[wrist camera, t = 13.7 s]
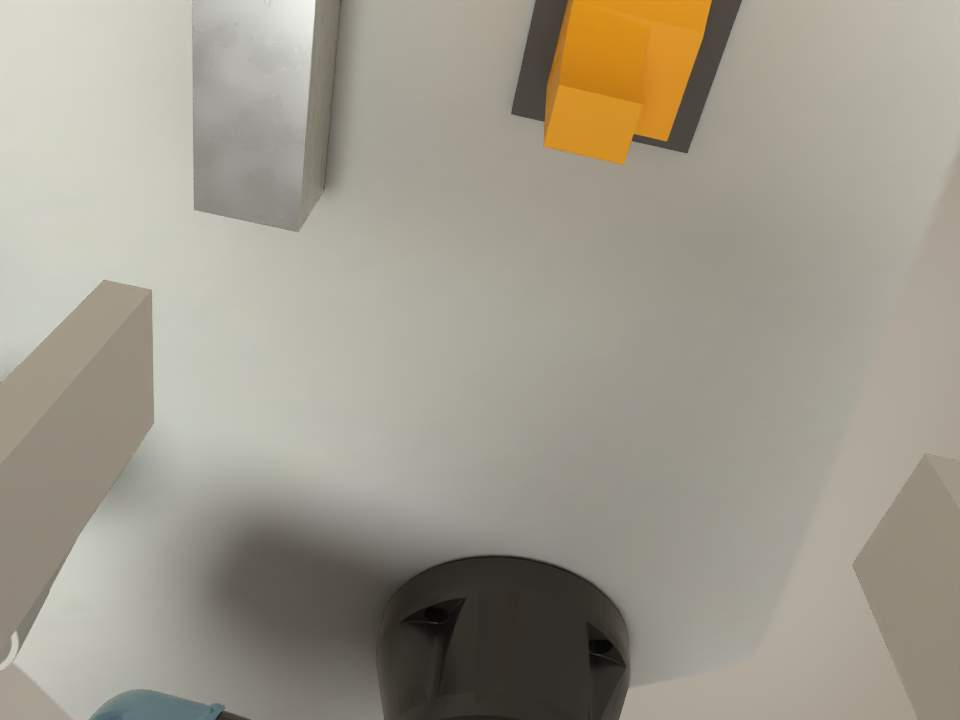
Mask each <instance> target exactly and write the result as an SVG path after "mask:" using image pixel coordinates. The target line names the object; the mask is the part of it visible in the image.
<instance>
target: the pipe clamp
mask: <svg viewBox="0 0 960 720" xmlns="http://www.w3.org/2000/svg"><path fill="white" fill-rule="evenodd" d="M711 2H712V0H568V2H567V6H566V10H565V14H564V18H563V22H562V26H561V30H560V34H559V38H558V42H557V46H556V50H555V54H554V59H553V63H552V67H551V71H550V75H549V79H548V83H547V88H546V107H545V126H544V145H543V146H544V147H548V148H552V149H557V150H561V151H565V152H570V153H574V154H579V155H583V156H587V157H592V158H596V159H601V160H605V161H609V162H614V163H618V164H622V165H624V163H625V159H626V156H627V153H628V150H629V147H630V144H631V141H632V138H633V134H637V135H641V136H645V137H650V138H654V139H658V140H663V141H667V140H668V137H669V134H670V131H671V129H672V126H673V123H674V120H675V117H676V114H677V111H678V108H679V105H680V103H681V100H682V97H683V94H684V91H685V88H686V85H687V82H688V79H689V77H690V74H691V71H692V68H693V65H694V62H695V59H696V56H697V54H698V51H699V48H700V45H701V42H702V39H703V36H704V31H705V26H706V22H707V18H708V14H709V10H710V6H711Z"/></svg>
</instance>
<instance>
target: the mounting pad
mask: <svg viewBox="0 0 960 720" xmlns="http://www.w3.org/2000/svg"><path fill="white" fill-rule="evenodd" d="M741 1H742V0H712V2H711V6H710V10H709V14H708V18H707V22H706V26H705V31H704V36H703V39H702V42H701V45H700V48H699V51H698V54H697V56H696V59H695V62H694V65H693V68H692V71H691V74H690V77H689V79H688V82H687V85H686V88H685V91H684V94H683V97H682V100H681V103H680V105H679V108H678V111H677V114H676V117H675V120H674V123H673V126H672V129H671V131H670V134H669V137H668V140H667V141H663V140H658V139H654V138H650V137H645V136H641V135H637V134H633V138H632V141H634V142H639V143H643V144H648V145H652V146H657V147H661V148H666V149H670V150H675V151H679V152H684V153H688V150H689V147H690V144H691V141H692V139H693V136H694V133H695V130H696V127H697V125H698V122H699V119H700V116H701V113H702V111H703V108H704V105H705V102H706V99H707V96H708V94H709V91H710V88H711V85H712V82H713V80H714V77H715V74H716V71H717V68H718V66H719V63H720V60H721V57H722V54H723V52H724V49H725V46H726V43H727V40H728V38H729V35H730V32H731V29H732V26H733V23H734V21H735V18H736V15H737V12H738V9H739V7H740V4H741ZM567 2H568V0H536V3H535V8H534V12H533V17H532V22H531V26H530V31H529V35H528V40H527V44H526V49H525V53H524V58H523V63H522V67H521V72H520V76H519V81H518V85H517V90H516V94H515V99H514V104H513V108H512V113H511V114H513V115H517V116H522V117H526V118H531V119H535V120H540V121H544V122H545V107H546V88H547V83H548V79H549V75H550V71H551V67H552V63H553V59H554V54H555V50H556V46H557V42H558V38H559V34H560V30H561V26H562V22H563V18H564V14H565V10H566V6H567Z"/></svg>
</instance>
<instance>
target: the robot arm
mask: <svg viewBox="0 0 960 720" xmlns="http://www.w3.org/2000/svg"><path fill="white" fill-rule="evenodd" d="M153 424H154V397H153V335H152V290H150V289H145V288H140V287H135V286H131V285H126V284H121V283H117V282H112V281H107V280H103V281H102V282H101V283H100V284H99V285H98V286H97V287H96V288H95V289H94V290H93V291H92V292H91V293H90V294H89V295H88V296H87V297H86V298H85V299H84V300H83V301H82V302H81V304H80V305H79V306H78V307H77V308H76V309H75V310H74V311H73V312H72V313H71V314H70V315H69V316H68V317H67V318H66V319H65V320H64V321H63V322H62V323H61V324H60V325H59V326H58V327H57V328H56V329H55V330H54V331H53V332H52V333H51V334H50V335H49V336H48V337H47V338H46V339H45V340H44V341H43V342H42V343H41V344H40V345H39V346H38V347H37V348H36V349H35V350H34V351H33V352H32V353H31V354H30V355H29V356H28V357H27V358H26V359H25V360H24V361H23V362H22V363H21V364H20V365H19V366H18V367H17V368H16V369H15V370H14V371H13V372H12V373H11V374H10V375H9V376H8V377H7V378H6V379H5V380H4V381H3V382H2V383H1V384H0V653H1V651H2V650H3V648H4V647H5V645H6V644H7V642H8V641H9V639H10V638H11V636H12V635H13V633H14V632H15V630H16V629H17V627H18V626H19V624H20V623H21V621H22V620H23V618H24V617H25V615H26V614H27V612H28V611H29V609H30V608H31V606H32V605H33V603H34V602H35V600H36V599H37V597H38V596H39V594H40V593H41V591H42V590H43V588H44V587H45V585H46V584H47V582H48V581H49V579H50V578H51V576H52V575H53V573H54V572H55V570H56V569H57V567H58V566H59V564H60V563H61V561H62V560H63V558H64V557H65V555H66V554H67V552H68V551H69V549H70V548H71V546H72V545H73V543H74V542H75V540H76V539H77V537H78V536H79V534H80V533H81V531H82V530H83V528H84V527H85V525H86V524H87V522H88V521H89V520H90V518H91V517H92V515H93V514H94V512H95V511H96V509H97V508H98V506H99V505H100V503H101V502H102V500H103V499H104V497H105V496H106V494H107V493H108V491H109V490H110V488H111V487H112V485H113V484H114V482H115V481H116V479H117V478H118V476H119V475H120V473H121V472H122V470H123V469H124V467H125V466H126V464H127V463H128V461H129V460H130V458H131V457H132V455H133V454H134V452H135V451H136V449H137V448H138V446H139V445H140V443H141V442H142V440H143V439H144V437H145V436H146V434H147V433H148V431H149V430H150V428H151V427H152V425H153ZM852 565H853V568H854V570H855V572H856V575H857V577H858V579H859V582H860V584H861V586H862V589H863V591H864V594H865V596H866V598H867V601H868V603H869V605H870V608H871V610H872V612H873V615H874V617H875V619H876V622H877V624H878V627H879V629H880V631H881V634H882V636H883V639H884V641H885V643H886V646H887V648H888V650H889V653H890V655H891V658H892V660H893V662H894V665H895V667H896V669H897V672H898V674H899V677H900V679H901V681H902V684H903V686H904V688H905V691H906V693H907V696H908V698H909V700H910V703H911V705H912V707H913V710H914V712H915V714H916V717H917V719H918V720H960V461H958V460H953V459H948V458H944V457H939V456H934V455H930V454H925V455H924V456H923V458H922V459H921V461H920V462H919V464H918V465H917V467H916V469H915V470H914V471H913V473H912V475H911V476H910V477H909V479H908V480H907V482H906V483H905V485H904V487H903V488H902V490H901V491H900V493H899V494H898V496H897V497H896V499H895V501H894V502H893V503H892V505H891V507H890V508H889V509H888V511H887V512H886V514H885V515H884V517H883V518H882V520H881V522H880V523H879V525H878V526H877V528H876V529H875V531H874V532H873V534H872V535H871V537H870V538H869V540H868V541H867V543H866V544H865V546H864V547H863V549H862V550H861V552H860V554H859V555H858V557H857V558H856V560H855V561H854V563H853V564H852ZM376 665H377V672H378V679H379V686H380V693H381V700H382V707H383V714H384V720H619V718H620V714H621V711H622V707H623V704H624V700H625V697H626V694H627V690H628V687H629V681H630V655H629V642H628V634H627V629H626V626H625V624H624V621H623V619H622V617H621V615H620V614H619V612H618V611H617V609H616V608H615V606H614V605H613V604H612V603H611V602H610V601H609V600H608V599H607V598H606V597H605V596H604V595H603V594H602V593H601V592H600V591H598V590H597V589H596V588H594V587H593V586H592V585H590V584H588V583H587V582H585V581H584V580H582V579H580V578H578V577H576V576H574V575H572V574H570V573H568V572H565V571H563V570H560V569H557V568H554V567H551V566H548V565H544V564H541V563H536V562H532V561H526V560H520V559H511V558H477V559H468V560H461V561H457V562H452V563H448V564H444V565H441V566H438V567H436V568H433V569H431V570H428V571H426V572H424V573H422V574H420V575H418V576H417V577H415V578H413V579H412V580H410V581H409V582H408V583H406V584H405V585H404V586H403V587H402V588H401V589H400V590H398V591H397V593H396V594H395V595H394V596H393V597H392V599H391V600H390V602H389V604H388V606H387V607H386V610H385V612H384V616H383V620H382V624H381V629H380V634H379V638H378V643H377V650H376ZM224 709H225V706H224V705H221V704H218V703H215V704H213V705H211V706H208V705H204V704H200V703H197V702H193V701H189V700H186V699H182V698H178V697H175V696H171V695H167V694H164V693H160V692H156V691H152V690H145V689H138V690H132V691H127V692H124V693H121V694H119V695H117V696H115V697H113V698H112V699H110V700H109V701H107V702H106V703H105V704H103V705H102V706H101V707H100V708H99V709H98V710H97V711H96V712H95V713H94V714H93V715H92V717H91V718H90V719H89V720H250V719H247V718H244V717H241V716H238V715H235V714H232V713H229V712H226V711H223V710H224Z"/></svg>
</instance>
